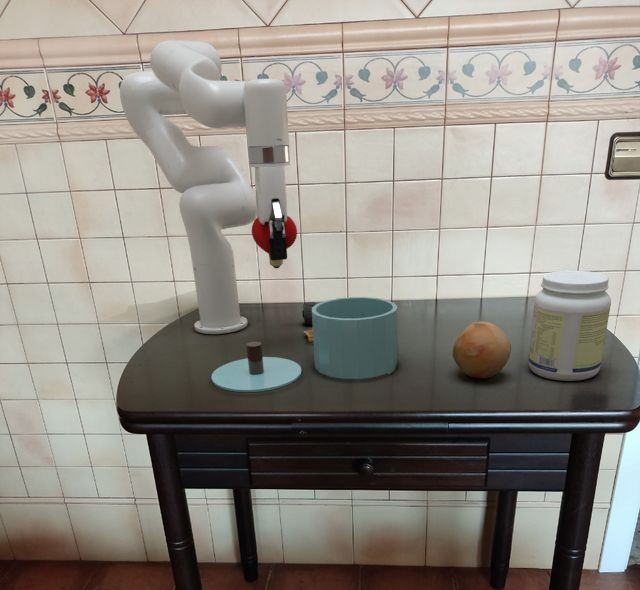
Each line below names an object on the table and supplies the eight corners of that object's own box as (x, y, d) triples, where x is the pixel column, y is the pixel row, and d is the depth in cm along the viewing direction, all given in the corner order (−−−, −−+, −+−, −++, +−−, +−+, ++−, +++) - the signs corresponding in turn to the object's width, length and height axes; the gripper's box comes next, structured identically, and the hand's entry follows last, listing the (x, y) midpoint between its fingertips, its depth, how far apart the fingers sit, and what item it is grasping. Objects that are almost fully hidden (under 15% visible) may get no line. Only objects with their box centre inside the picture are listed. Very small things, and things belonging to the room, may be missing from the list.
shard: (354, 345, 126) (354, 337, 125) (323, 352, 123) (322, 344, 122) (329, 332, 134) (329, 325, 134) (299, 339, 131) (299, 331, 130)
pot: (307, 357, 120) (304, 301, 115) (383, 349, 123) (383, 293, 118) (323, 385, 106) (320, 323, 101) (407, 375, 109) (409, 314, 104)
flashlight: (303, 328, 139) (301, 305, 136) (302, 321, 144) (301, 299, 141) (368, 323, 139) (368, 300, 137) (365, 317, 144) (365, 295, 142)
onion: (515, 385, 102) (521, 329, 98) (456, 387, 103) (460, 331, 98) (501, 365, 111) (505, 313, 107) (447, 367, 112) (449, 315, 107)
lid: (210, 367, 118) (206, 335, 115) (294, 358, 120) (292, 326, 117) (213, 400, 103) (208, 364, 100) (309, 389, 106) (307, 353, 103)
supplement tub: (594, 360, 111) (609, 269, 104) (604, 385, 101) (622, 285, 93) (525, 357, 114) (535, 268, 107) (528, 381, 104) (539, 284, 96)
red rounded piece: (305, 265, 119) (303, 212, 114) (289, 273, 113) (285, 218, 109) (265, 262, 122) (261, 211, 118) (247, 270, 117) (242, 217, 112)
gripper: (244, 156, 116) (252, 248, 124) (253, 160, 100) (261, 265, 108) (283, 154, 117) (288, 246, 125) (297, 158, 102) (302, 262, 110)
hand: (275, 254), depth 117 cm, fingers closed on red rounded piece, 7 cm apart
